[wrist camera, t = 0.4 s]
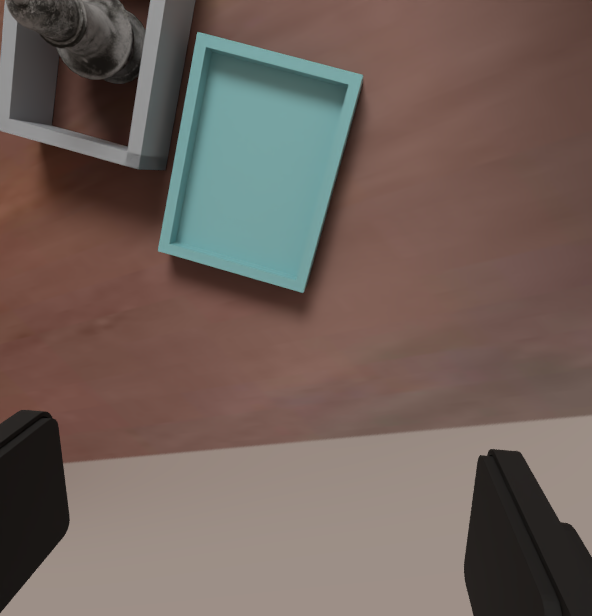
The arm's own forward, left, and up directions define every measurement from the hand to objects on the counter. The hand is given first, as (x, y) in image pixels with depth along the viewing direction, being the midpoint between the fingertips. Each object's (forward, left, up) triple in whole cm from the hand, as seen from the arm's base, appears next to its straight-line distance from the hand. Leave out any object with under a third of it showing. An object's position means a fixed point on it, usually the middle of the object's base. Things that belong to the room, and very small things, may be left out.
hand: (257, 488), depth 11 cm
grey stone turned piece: (-11, -21, -31) cm, 39 cm away
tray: (-5, -8, -30) cm, 32 cm away
